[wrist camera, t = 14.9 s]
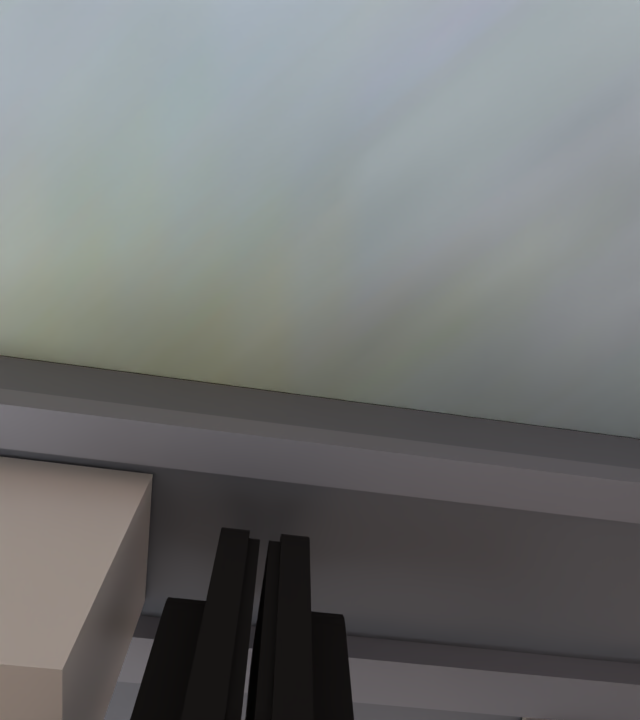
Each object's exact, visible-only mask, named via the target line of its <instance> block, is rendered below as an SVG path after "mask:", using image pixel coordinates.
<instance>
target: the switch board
mask: <svg viewBox="0 0 640 720" xmlns="http://www.w3.org/2000/svg"><path fill="white" fill-rule="evenodd" d="M0 457H9V458H18V459H26V460H35V461H43V462H52V463H60V464H69V465H77V466H86V467H95V468H103V469H112V470H120V471H129V472H137V473H146V474H153V478H152V494H151V510H150V526H149V543H148V559H147V575H146V591H145V602H144V605H143V608H142V611H141V614H140V617H139V620H138V622H137V625H136V628H135V631H134V634H133V637H132V640H131V642H130V645H129V648H128V651H127V654H126V657H125V660H124V662H123V665H122V668H121V671H120V674H119V677H118V680H117V682H116V685H115V688H114V691H113V694H112V697H111V700H110V702H109V705H108V708H107V711H106V714H105V717H104V720H130V718H131V715H132V712H133V708H134V705H135V702H136V698H137V695H138V692H139V688H140V685H141V682H142V678H143V675H144V672H145V668H146V665H147V662H148V658H149V655H150V652H151V648H152V645H153V642H154V638H155V635H156V632H157V628H158V625H159V622H160V618H161V615H162V612H163V608H164V605H165V602H166V600H167V598H168V597H172V598H182V599H192V600H202V601H206V598H207V593H208V589H209V584H210V579H211V575H212V570H213V565H214V560H215V556H216V551H217V546H218V541H219V537H220V532H221V528H222V527H224V528H233V529H243V530H250V534H249V538H251V539H260V546H259V556H258V565H257V575H256V584H255V594H254V603H253V613H252V622H251V632H250V641H249V650H248V660H247V669H246V679H245V688H244V698H243V707H242V716H241V720H245V716H246V706H247V695H248V685H249V675H250V665H251V657H252V649H253V642H254V636H255V629H256V622H257V616H258V609H259V603H260V596H261V589H262V583H263V576H264V570H265V563H266V556H267V550H268V543H269V540H270V541H280V536H281V534H288V535H297V536H306V537H309V538H310V576H311V611H313V612H323V613H333V614H343V616H344V619H345V626H346V637H347V648H348V659H349V669H350V680H351V691H352V702H353V713H354V720H522V718H523V717H526V718H538V719H549V720H640V439H634V438H626V437H618V436H611V435H603V434H595V433H588V432H580V431H572V430H565V429H557V428H549V427H542V426H534V425H526V424H519V423H511V422H503V421H496V420H488V419H480V418H473V417H465V416H457V415H450V414H442V413H434V412H427V411H419V410H411V409H404V408H396V407H388V406H381V405H373V404H365V403H358V402H350V401H342V400H335V399H327V398H319V397H312V396H304V395H296V394H289V393H281V392H273V391H266V390H258V389H250V388H243V387H235V386H227V385H220V384H212V383H204V382H197V381H189V380H181V379H174V378H166V377H158V376H151V375H143V374H135V373H128V372H120V371H112V370H105V369H97V368H89V367H81V366H74V365H66V364H58V363H51V362H43V361H35V360H28V359H20V358H12V357H5V356H0Z"/></svg>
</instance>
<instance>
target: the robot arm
mask: <svg viewBox="0 0 640 720" xmlns="http://www.w3.org/2000/svg"><path fill="white" fill-rule="evenodd" d="M249 534H250V530H243V529H233V528H224V527H222V528H221V532H220V537H219V541H218V546H217V551H216V556H215V560H214V565H213V570H212V575H211V579H210V584H209V589H208V593H207V598H206V601H202V600H192V599H182V598H172V597H168V598H167V600H166V602H165V605H164V608H163V612H162V615H161V618H160V622H159V625H158V628H157V632H156V635H155V638H154V642H153V645H152V648H151V652H150V655H149V658H148V662H147V665H146V668H145V672H144V675H143V678H142V682H141V685H140V688H139V692H138V695H137V698H136V702H135V705H134V708H133V712H132V715H131V718H130V720H241V716H242V707H243V698H244V688H245V679H246V669H247V660H248V650H249V641H250V632H251V622H252V613H253V603H254V594H255V584H256V575H257V565H258V556H259V546H260V539H251V538H249ZM245 720H354V713H353V702H352V691H351V680H350V669H349V659H348V648H347V637H346V626H345V619H344V616H343V614H333V613H323V612H313V611H311V576H310V538H309V537H306V536H297V535H288V534H281V536H280V541H270V540H269V543H268V550H267V556H266V563H265V570H264V576H263V583H262V589H261V596H260V603H259V609H258V616H257V622H256V629H255V636H254V642H253V649H252V657H251V665H250V675H249V685H248V695H247V706H246V716H245Z"/></svg>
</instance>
